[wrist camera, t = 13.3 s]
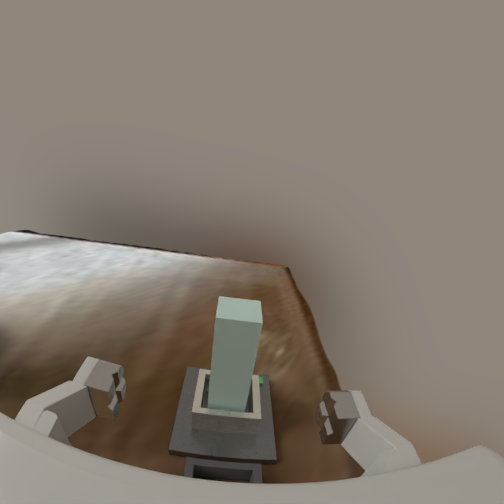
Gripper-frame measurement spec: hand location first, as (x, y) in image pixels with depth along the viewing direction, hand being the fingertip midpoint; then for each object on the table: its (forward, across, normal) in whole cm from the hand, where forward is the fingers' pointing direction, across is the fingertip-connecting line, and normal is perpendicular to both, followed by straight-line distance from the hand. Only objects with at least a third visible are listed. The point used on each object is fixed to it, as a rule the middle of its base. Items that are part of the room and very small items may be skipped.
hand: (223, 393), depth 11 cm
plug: (+15, -2, +19) cm, 24 cm away
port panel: (+15, -2, +20) cm, 25 cm away
